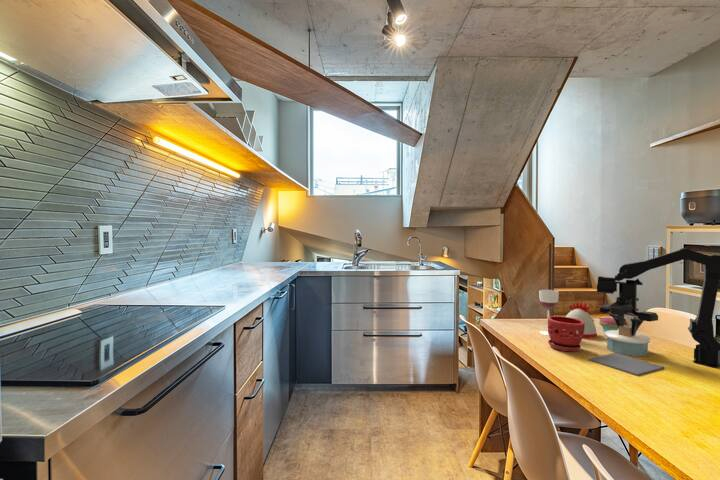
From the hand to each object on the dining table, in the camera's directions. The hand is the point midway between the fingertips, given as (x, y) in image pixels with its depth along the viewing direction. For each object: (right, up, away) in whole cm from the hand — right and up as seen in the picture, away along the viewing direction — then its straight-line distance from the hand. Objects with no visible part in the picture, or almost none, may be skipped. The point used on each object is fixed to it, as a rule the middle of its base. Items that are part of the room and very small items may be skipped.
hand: (627, 333), depth 144 cm
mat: (-12, -7, -15) cm, 20 cm away
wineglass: (-19, -6, +25) cm, 32 cm away
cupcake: (+11, -7, +26) cm, 29 cm away
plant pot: (-23, -7, +3) cm, 24 cm away
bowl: (0, -7, 0) cm, 7 cm away
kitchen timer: (-4, -7, +24) cm, 26 cm away
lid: (0, -2, 0) cm, 2 cm away
